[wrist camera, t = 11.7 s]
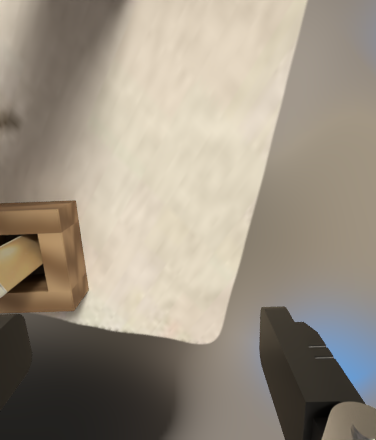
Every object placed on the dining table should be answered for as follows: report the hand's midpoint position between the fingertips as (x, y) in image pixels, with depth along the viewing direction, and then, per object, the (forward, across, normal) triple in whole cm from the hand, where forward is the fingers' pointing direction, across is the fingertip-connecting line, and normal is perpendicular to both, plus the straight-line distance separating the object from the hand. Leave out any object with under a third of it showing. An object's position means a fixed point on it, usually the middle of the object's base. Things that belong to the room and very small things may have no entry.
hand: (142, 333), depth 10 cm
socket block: (+28, +20, +7) cm, 35 cm away
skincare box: (+28, +20, +7) cm, 35 cm away
